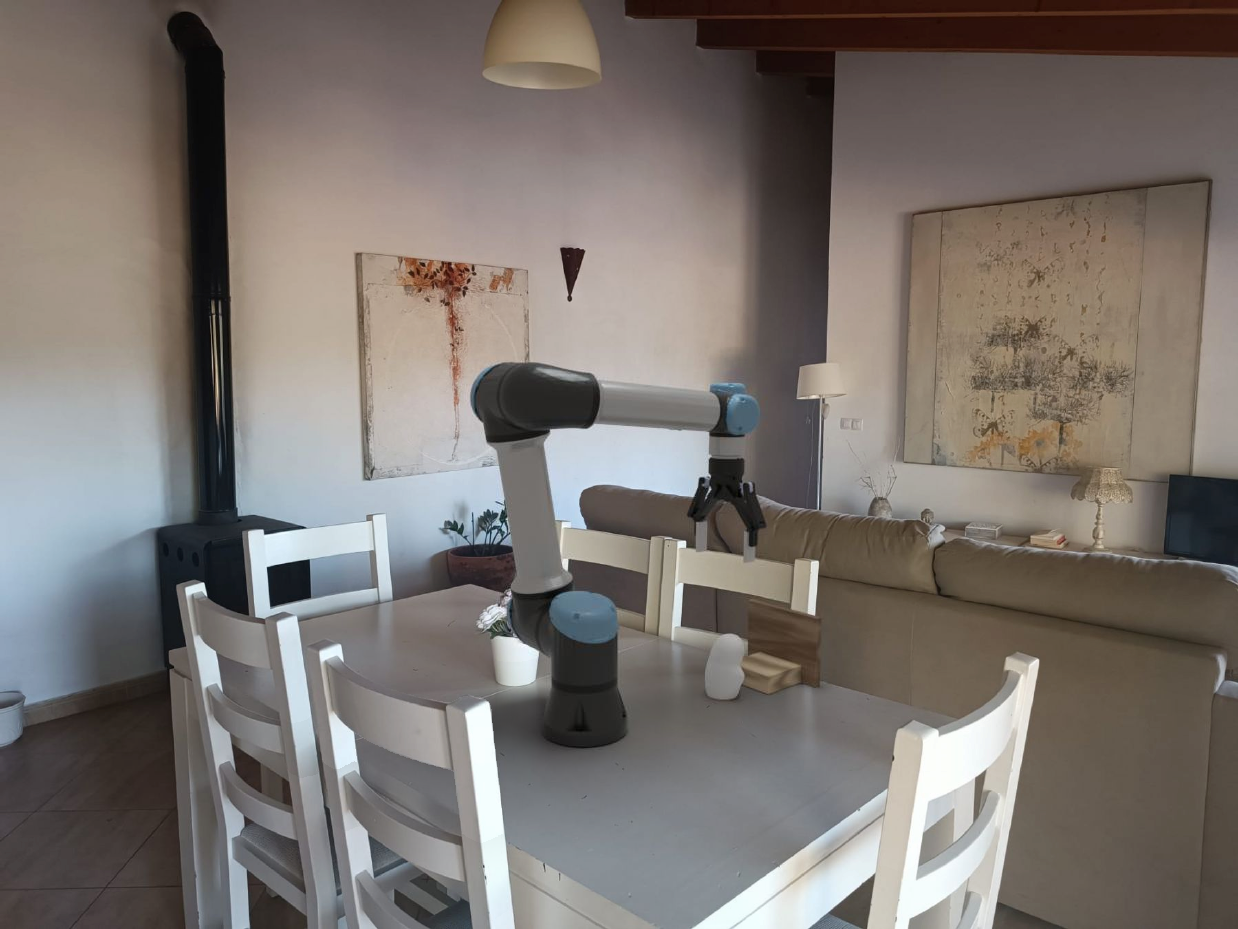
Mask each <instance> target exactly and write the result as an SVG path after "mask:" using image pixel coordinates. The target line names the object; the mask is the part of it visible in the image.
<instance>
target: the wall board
mask: <svg viewBox="0 0 1238 929" xmlns="http://www.w3.org/2000/svg"><path fill="white" fill-rule="evenodd" d="M747 601H748V603H747V604H748V605H747V607H748V609H747V615H748V616H747V617H748V618H747V655H746V656H745V655H744V656H743V659H742V661H741V669H742V671H743V672H744V676H745V677H744V681H743V683H742V684H741V685H743V686H746V687H748V688H751V689H753V690H756V691H759V692H762V693H764V694H767V695H770V694H773V693H775V692H778V691H782V690H783V689H786V688H790V687H792V686H795V685H797V683H798V684H805V685H807V686H810V687H814V688H817V687H820V684H821V653H822V652H821V650H822V648H821V647H822V644H821V643H822V617H821V616H818V615H814V614H809V613H806V612H803V611H799V610H795V609H792V608H788V607H785V606H780V605H777V604H773V603H771V602H770V603H769V602H766V601H761V600H759V599H755V598H751V599H748V600H747Z"/></svg>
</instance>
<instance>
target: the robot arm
mask: <svg viewBox="0 0 1238 929" xmlns="http://www.w3.org/2000/svg"><path fill="white" fill-rule="evenodd" d="M469 401H470V402H469V403H470V407H471V409H472V410H471V411H472V412H473V414H474V415H475V417H476V418H477V420H478V421H480V422H481V423H482V424H483V430H484V435H485V442H486V444H487V445H488V446H490V447H491V448H493V449H494V450H495V452H496V455H497V460H498V467H499V473H500V475H499V476H500V480H501V484H502V492H503V498H504V502H505V503H504V504H505V509H506V516H507V522H508V527H509V528H508V529H509V534H510V540H511V546H512V552H513V558H514V564H515V565H514V566H515V571H516V577H515V579H514V580H513V581H512V582H511V585H510V590H511V597H510V599H509V600H508V603H507V606H506V619H507V623H508V626H509V628H510V630H511V631H512V633H513V634H514V636H516V637H517V638H518V640H520V642H521V643H523V645H527V646H528V647H529V648H532V649H534V650H535V651H538V652H540V654H543V655H544V656H546V657H548V658H550V677H551V679H550V682H551V686H550V691H549V695H548V698H547V699H546V700H547V701H546V704H545V706H544V707H545V708H544V711H543V713H542V716H541V732H542V735H543V736H544V737H545V738H546V739H548V740H549V741H551V742H553V743H555V744H559V745H561V746H562V745H563V746H568V747H575V748H576V747H577V748H579V747H580V748H588V747H589V748H590V747H598V746H604V745H608V744H611V743H614V742H616V741H618V740H620V739H621V738H623V737H624V736H626V734H627V733H628V729H629V726H628V725H629V724H628V721H629V718H628V712H627V711H626V707H625V704H624V701H623V697H622V695H621V692H620V690H619V683H618V682H619V681H618V680H619V678H618V676H619V674H618V673H619V671H618V668H619V665H618V664H619V663H618V662H619V661H618V659H619V658H618V657H619V655H618V654H619V651H618V649H619V648H618V647H619V642H618V641H619V639H618V638H619V634H618V633H619V627H620V626H619V618H618V610H617V606H616V604H615V603H614V602H613V601H612V599H610V598H609V597H606V596H605V595H603V594H600V593H597V592H593V593H592V592H590V591H584V590H576V589H575V584H574V577H573V575H572V573H571V572H569V571H568V570H566V569H565V568H564V566H563V561H562V555H561V548H560V542H559V534H558V528H557V521H556V516H555V509H554V503H553V502H554V501H553V496H552V489H551V482H550V476H549V475H550V474H549V470H548V463H547V456H546V450H545V442H546V440H547V439H548V438H549V436H550V435H551V430H559V429H561V430H563V429H564V430H565V429H577V430H578V429H579V430H588V429H590V428H591V427H593V426H594V425H605V426H607V425H609V426H621V427H638V428H651V429H664V430H670V431H678V432H679V431H690V432H691V431H693V432H704V433H705V432H706V433H708V435H709V436H708V455H709V456H711V457H709V458H708V469H707V470H708V476H701V477H699V478H698V482H697V483H698V484H697V489H696V490H695V493H694V495H693V498H692V501H691V503H690V506H689V508H688V510H687V513H686V516H687V518H691V519H692V520H693V522H694V523H693V524H694V525H693V526H694V527H693V528H694V530H693V532H694V533H693V534H694V536H695V552H696V553H702V552H707V551H708V521H707V519H706V517H707V516H708V514H709V513H710V512H711V511H712V510H713V508H714V507H715V505H716V504H717V503H718V501H724V502H727V503H730V504H731V505H733V507H734V508H735V510H736V512H737V514H738V516H739V517H740V519H741V521H742V523H743V524H744V526H745V527H746V530H744V531H743V563H745V564H748V563H753V562H756V547H757V546H758V544H759V543H758V542H759V540H758V539H759V531H760V530H763V529H766V528H767V523H766V519H765V517H764V514H763V511H762V508H761V505H760V503H759V499H758V496H757V494H756V483H755V482H754V481H750V482H748V481H747V482H743V477H744V475H745V467H746V466H745V463H746V462H745V461H746V460H745V458H743V456H745V454H746V435H748V434H751V433H752V432H753V431H754V430H756V428H757V427H758V426H759V423H760V419H761V408H760V405H759V402H758V401H757V400H756V398H754V397H753V396H751V395H748V394H747V390H746V386H745V384H743V383H741V382H738V383H737V382H713V383H711V384H710V385H709V390H708V391H707V390H697V389H687V388H678V387H669V386H659V385H652V384H651V385H650V384H649V385H648V384H641V383H633V382H632V383H631V382H623V381H622V382H621V381H614V380H604V379H598V377H597V376H596V375H595V374H594V373H592V372H585V371H578V370H573V369H568V368H563V367H558V366H555V365H551V364H548V363H547V364H546V363H542V362H535V361H534V362H533V361H530V362H519V361H518V362H517V361H516V362H513V361H510V362H507V361H506V362H501V363H497V364H496V363H495V364H493V365H489V366H488V367H486V368H484V370H482V371H480V373H479V374H478V375H477V376H476V378H475V379H474V381H473V383H472V386H471V389H470V395H469ZM709 475H710V476H709ZM709 490H710V491H709Z"/></svg>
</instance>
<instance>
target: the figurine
mask: <svg viewBox="0 0 1238 929" xmlns="http://www.w3.org/2000/svg"><path fill="white" fill-rule="evenodd" d="M743 657H745V644H744V640H743V639H742V638H741V637H740V636H739V635H737V634H735V633H725V634H722V635H720V636H719V637H718V638H717V639H716V640H715V641H714V643H713V645H712V647H711V650H710V652H709V657H708V660H707V663H706V665H705V669H704V670H705V671H704V672H705V673H704V686H705V691H706V696H708V697H709V698H711V699H714V700H720V701H726V700H729V701H730V700H733V699H736V698H737V697H738V694H739V692H740V690H741V686H742V685H743V684H742V683H743V681H744V677H745V676H744V672H743V671H742V669H741V661H742V659H743Z"/></svg>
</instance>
